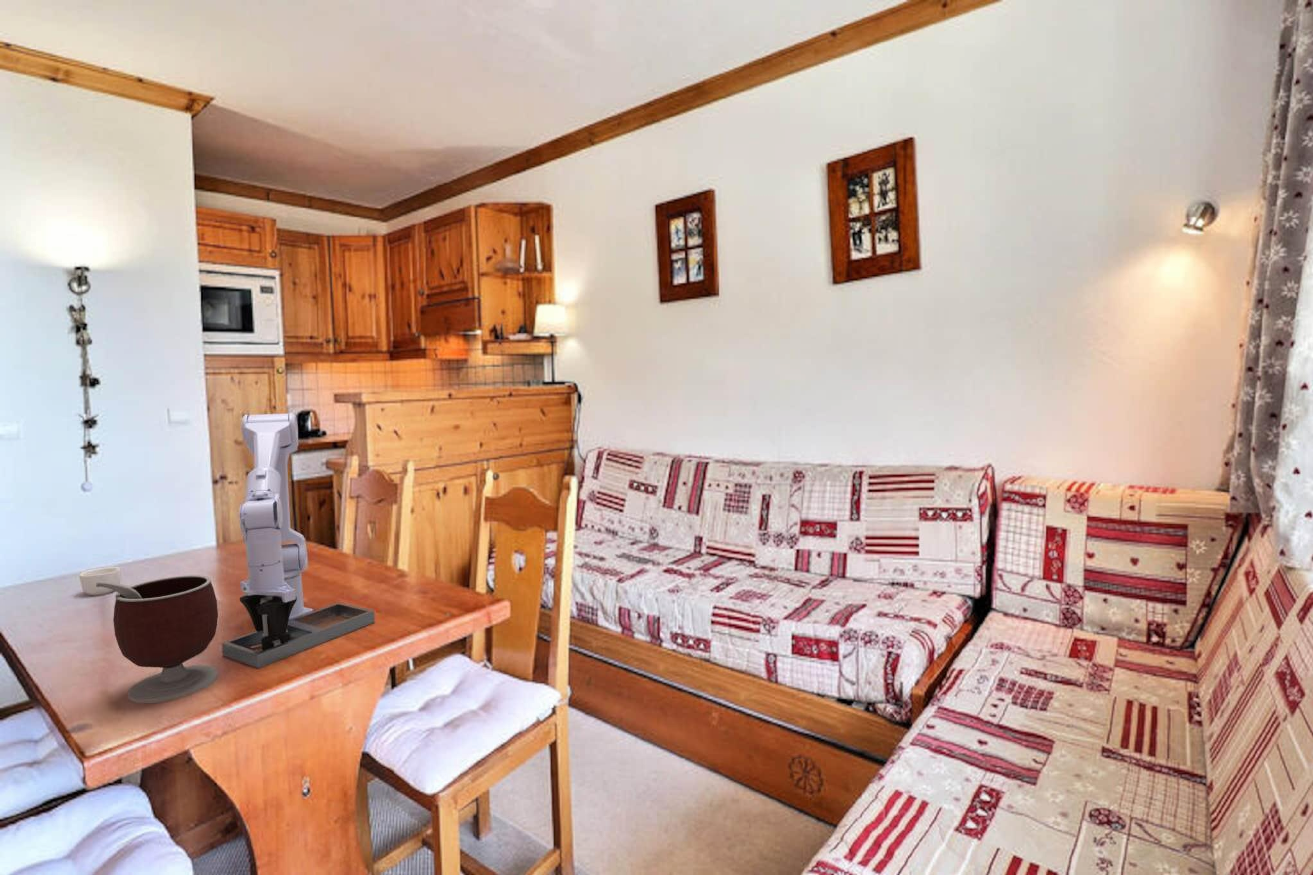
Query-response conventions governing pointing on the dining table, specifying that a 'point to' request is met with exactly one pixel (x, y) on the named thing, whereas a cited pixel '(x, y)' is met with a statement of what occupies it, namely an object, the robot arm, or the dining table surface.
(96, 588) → the teacup
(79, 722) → the dining table surface
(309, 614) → the rail frame
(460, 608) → the dining table surface
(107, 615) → the dining table surface
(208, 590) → the mate gourd
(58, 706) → the dining table surface
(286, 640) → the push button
